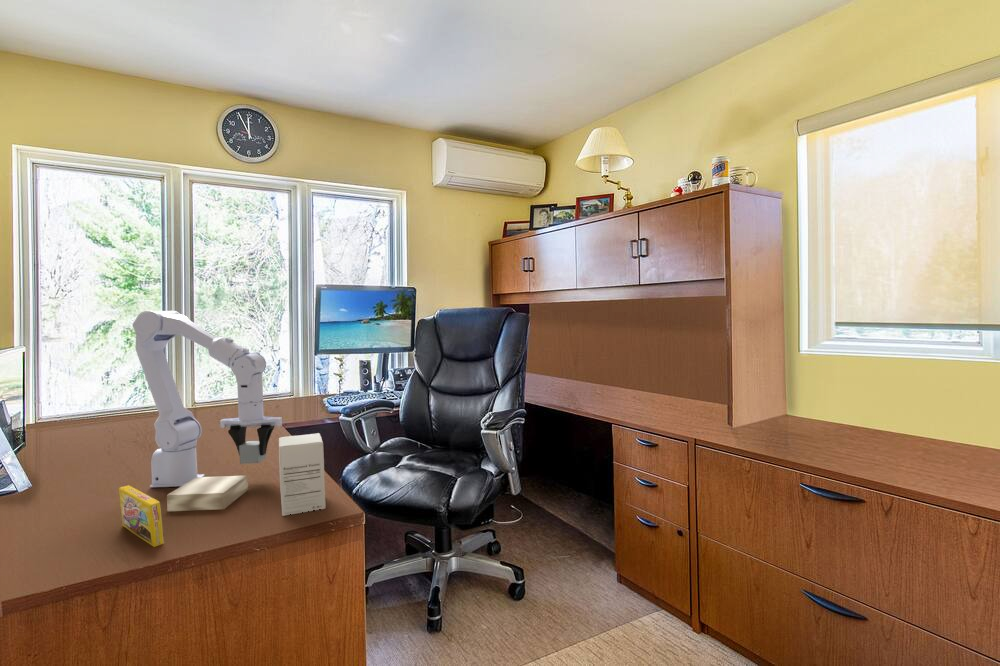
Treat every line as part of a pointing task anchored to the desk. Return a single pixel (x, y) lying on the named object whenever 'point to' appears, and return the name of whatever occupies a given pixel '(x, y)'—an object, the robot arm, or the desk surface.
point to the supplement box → (301, 473)
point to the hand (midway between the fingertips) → (252, 454)
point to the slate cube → (250, 452)
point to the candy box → (141, 515)
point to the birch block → (207, 493)
